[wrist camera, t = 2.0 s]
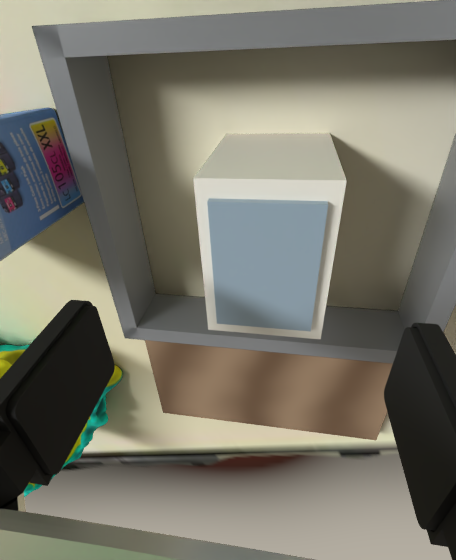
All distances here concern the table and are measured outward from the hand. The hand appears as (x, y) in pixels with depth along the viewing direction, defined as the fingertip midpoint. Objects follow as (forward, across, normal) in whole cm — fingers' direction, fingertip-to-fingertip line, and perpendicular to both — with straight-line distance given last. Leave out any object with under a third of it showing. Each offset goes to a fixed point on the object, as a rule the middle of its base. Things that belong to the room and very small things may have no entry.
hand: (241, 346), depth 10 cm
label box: (+10, -1, -1) cm, 10 cm away
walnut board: (+11, -1, +14) cm, 18 cm away
